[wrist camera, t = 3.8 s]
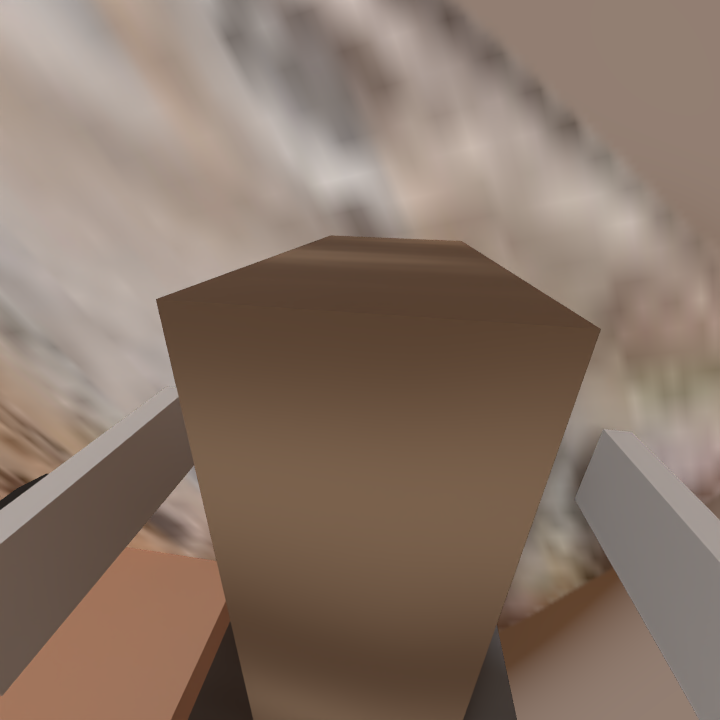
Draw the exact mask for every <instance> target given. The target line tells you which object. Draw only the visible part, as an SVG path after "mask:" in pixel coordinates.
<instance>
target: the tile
mask: <svg viewBox="0 0 720 720" xmlns="http://www.w3.org/2000/svg"><path fill="white" fill-rule="evenodd" d="M229 622H230V617H229V613H228V608H227V604H226V600H225V595H224V591H223V587H222V582H221V578H220V574H219V569H218V565H217V561H213V560H206V559H199V558H193V557H186V556H180V555H173V554H167V553H160V552H154V551H147V550H141V549H134V548H128V547H126V548H125V549H124V550H123V551H122V552H121V554H120V555H119V556H118V557H117V558H116V560H115V561H114V562H113V563H112V564H111V566H110V567H109V568H108V569H107V570H106V572H105V573H104V574H103V575H102V576H101V578H100V579H99V580H98V581H97V583H96V584H95V585H94V586H93V587H92V589H91V590H90V591H89V592H88V593H87V595H86V596H85V597H84V598H83V599H82V601H81V602H80V603H79V604H78V605H77V607H76V608H75V609H74V610H73V611H72V613H71V614H70V615H69V616H68V617H67V619H66V620H65V621H64V622H63V623H62V625H61V626H60V627H59V628H58V629H57V631H56V632H55V633H54V634H53V635H52V637H51V638H50V639H49V640H48V641H47V643H46V644H45V645H44V646H43V647H42V649H41V650H40V651H39V652H38V654H37V655H36V656H35V657H34V658H33V660H32V661H31V662H30V663H29V664H28V666H27V667H26V668H25V669H24V670H23V672H22V673H21V674H20V675H19V676H18V678H17V679H16V680H15V681H14V682H13V684H12V685H11V686H10V687H9V688H8V690H7V691H6V692H5V693H4V694H3V696H0V720H188V718H189V715H190V713H191V711H192V708H193V706H194V704H195V701H196V699H197V697H198V694H199V692H200V690H201V687H202V685H203V683H204V681H205V678H206V676H207V674H208V671H209V669H210V667H211V664H212V662H213V660H214V657H215V655H216V653H217V650H218V648H219V646H220V643H221V641H222V639H223V636H224V634H225V632H226V629H227V627H228V625H229Z"/></svg>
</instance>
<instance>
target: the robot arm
mask: <svg viewBox="0 0 720 720" xmlns="http://www.w3.org/2000/svg"><path fill="white" fill-rule="evenodd" d="M193 466H194V461H193V457H192V453H191V448H190V444H189V440H188V435H187V431H186V427H185V422H184V418H183V414H182V409H181V405H180V401H179V396H178V392H177V388H176V387H170V386H167V387H165V388H164V389H163V390H161V391H160V392H159V393H157V394H156V395H155V396H153V397H152V398H151V399H149V400H148V401H147V402H145V403H144V404H143V405H141V406H140V407H138V408H137V409H136V410H134V411H133V412H132V413H130V414H129V415H128V416H126V417H125V418H124V419H122V420H121V421H120V422H118V423H117V424H116V425H114V426H113V427H112V428H110V429H109V430H108V431H106V432H105V433H103V434H102V435H101V436H99V437H98V438H97V439H95V440H94V441H93V442H91V443H90V444H89V445H87V446H86V447H85V448H83V449H82V450H81V451H79V452H78V453H77V454H75V455H74V456H73V457H71V458H70V459H69V460H67V461H66V462H64V463H63V464H62V465H60V466H59V467H58V468H56V469H55V470H54V471H52V472H51V473H50V474H45V475H43V476H41V477H39V478H37V479H35V480H33V481H31V482H29V483H27V484H25V485H23V486H21V487H19V488H17V489H16V490H14V491H13V492H12V493H10V494H9V495H7V496H6V497H5V498H3V499H2V500H1V501H0V696H3V694H4V693H5V692H6V691H7V690H8V688H9V687H10V686H11V685H12V684H13V682H14V681H15V680H16V679H17V678H18V676H19V675H20V674H21V673H22V672H23V670H24V669H25V668H26V667H27V666H28V664H29V663H30V662H31V661H32V660H33V658H34V657H35V656H36V655H37V654H38V652H39V651H40V650H41V649H42V647H43V646H44V645H45V644H46V643H47V641H48V640H49V639H50V638H51V637H52V635H53V634H54V633H55V632H56V631H57V629H58V628H59V627H60V626H61V625H62V623H63V622H64V621H65V620H66V619H67V617H68V616H69V615H70V614H71V613H72V611H73V610H74V609H75V608H76V607H77V605H78V604H79V603H80V602H81V601H82V599H83V598H84V597H85V596H86V595H87V593H88V592H89V591H90V590H91V589H92V587H93V586H94V585H95V584H96V583H97V581H98V580H99V579H100V578H101V576H102V575H103V574H104V573H105V572H106V570H107V569H108V568H109V567H110V566H111V564H112V563H113V562H114V561H115V560H116V558H117V557H118V556H119V555H120V554H121V552H122V551H123V550H124V549H125V548H126V546H127V545H128V544H129V543H130V542H131V540H132V539H133V538H134V537H135V536H136V534H137V533H138V532H139V531H140V530H141V528H142V527H143V526H144V525H145V524H146V522H147V521H148V520H149V519H150V518H151V516H152V515H153V514H154V513H155V512H156V510H157V509H158V508H159V507H160V505H161V504H162V503H163V502H164V501H165V499H166V498H167V497H168V496H169V495H170V493H171V492H172V491H173V490H174V489H175V487H176V486H177V485H178V484H179V483H180V481H181V480H182V479H183V478H184V477H185V475H186V474H187V473H188V472H189V471H190V469H191V468H192V467H193ZM575 501H576V503H577V504H578V506H579V508H580V510H581V511H582V513H583V515H584V517H585V519H586V520H587V522H588V524H589V526H590V527H591V529H592V531H593V533H594V534H595V536H596V538H597V540H598V542H599V543H600V545H601V547H602V549H603V550H604V552H605V554H606V556H607V557H608V559H609V561H610V563H611V565H612V566H613V568H614V570H615V571H616V573H617V575H618V577H619V579H620V580H621V582H622V584H623V586H624V587H625V589H626V591H627V593H628V595H629V596H630V598H631V600H632V602H633V603H634V605H635V607H636V609H637V610H638V612H639V614H640V616H641V617H642V619H643V621H644V623H645V625H646V626H647V628H648V630H649V632H650V633H651V635H652V637H653V639H654V641H655V642H656V644H657V646H658V648H659V649H660V651H661V653H662V654H663V656H664V658H665V660H666V662H667V664H668V665H669V667H670V669H671V671H672V672H673V674H674V676H675V678H676V679H677V681H678V683H679V685H680V687H681V688H682V690H683V692H684V694H685V695H686V697H687V699H688V700H689V702H690V704H691V706H692V708H693V709H694V711H695V713H696V715H697V717H698V718H699V720H720V520H719V519H718V518H717V517H716V516H715V515H714V514H713V513H712V512H711V511H710V510H709V509H708V508H707V507H706V506H705V505H704V504H703V503H702V502H701V501H700V500H699V499H698V498H697V497H696V496H695V495H694V494H693V493H692V492H691V491H690V490H689V489H688V488H687V487H686V486H685V485H684V484H683V483H682V482H681V481H680V480H679V479H678V478H677V477H676V476H675V475H674V474H673V473H672V472H671V471H670V470H669V469H668V467H667V466H666V465H665V464H664V463H663V462H662V461H661V460H660V459H659V458H658V457H657V456H656V455H655V454H654V453H653V452H652V451H651V450H650V449H649V448H648V447H647V446H646V445H645V444H644V443H643V442H642V441H641V440H640V439H639V438H638V437H637V436H636V435H635V434H634V433H633V432H629V431H619V430H609V429H603V431H602V434H601V436H600V438H599V441H598V443H597V446H596V448H595V450H594V453H593V455H592V458H591V460H590V463H589V465H588V467H587V470H586V472H585V475H584V477H583V480H582V482H581V484H580V487H579V489H578V492H577V494H576V496H575Z"/></svg>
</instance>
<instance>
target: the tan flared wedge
mask: <svg viewBox="0 0 720 720" xmlns="http://www.w3.org/2000/svg"><path fill="white" fill-rule="evenodd" d="M156 301H157V306H158V310H159V314H160V319H161V323H162V327H163V332H164V336H165V340H166V345H167V349H168V353H169V357H170V362H171V366H172V370H173V375H174V379H175V383H176V388H177V392H178V396H179V401H180V405H181V409H182V414H183V418H184V422H185V427H186V431H187V435H188V440H189V444H190V448H191V453H192V457H193V461H194V466H195V470H196V474H197V479H198V483H199V487H200V492H201V496H202V500H203V505H204V509H205V513H206V517H207V522H208V526H209V530H210V535H211V539H212V543H213V548H214V552H215V556H216V561H217V565H218V569H219V574H220V578H221V582H222V587H223V591H224V595H225V600H226V604H227V608H228V613H229V617H230V622H229V625H228V627H227V629H226V632H225V634H224V636H223V639H222V641H221V643H220V646H219V648H218V650H217V653H216V655H215V657H214V660H213V662H212V664H211V667H210V669H209V671H208V674H207V676H206V678H205V681H204V683H203V685H202V687H201V690H200V692H199V694H198V697H197V699H196V701H195V704H194V706H193V708H192V711H191V713H190V715H189V718H188V720H517V718H516V713H515V708H514V704H513V699H512V694H511V690H510V685H509V680H508V675H507V671H506V666H505V661H504V657H503V652H502V648H501V642H500V638H499V633H498V628H497V622H498V619H499V616H500V614H501V611H502V608H503V605H504V602H505V599H506V597H507V594H508V591H509V588H510V585H511V582H512V580H513V577H514V574H515V571H516V568H517V565H518V563H519V560H520V557H521V554H522V551H523V548H524V546H525V543H526V540H527V537H528V534H529V531H530V529H531V526H532V523H533V520H534V517H535V514H536V512H537V509H538V506H539V503H540V500H541V497H542V495H543V492H544V489H545V486H546V483H547V480H548V478H549V475H550V472H551V469H552V466H553V463H554V461H555V458H556V455H557V452H558V449H559V446H560V444H561V441H562V438H563V435H564V432H565V429H566V427H567V424H568V421H569V418H570V415H571V412H572V410H573V407H574V404H575V401H576V398H577V395H578V392H579V390H580V387H581V384H582V381H583V378H584V375H585V373H586V370H587V367H588V364H589V361H590V358H591V356H592V353H593V350H594V347H595V344H596V341H597V339H598V336H599V333H600V330H601V329H600V328H598V327H597V326H595V325H593V324H592V323H590V322H589V321H587V320H585V319H584V318H582V317H581V316H579V315H578V314H576V313H574V312H573V311H571V310H570V309H568V308H567V307H565V306H563V305H562V304H560V303H559V302H557V301H555V300H554V299H552V298H551V297H549V296H548V295H546V294H544V293H543V292H541V291H540V290H538V289H536V288H535V287H533V286H532V285H530V284H529V283H527V282H525V281H524V280H522V279H521V278H519V277H518V276H516V275H514V274H513V273H511V272H510V271H508V270H506V269H505V268H503V267H502V266H500V265H499V264H497V263H495V262H494V261H492V260H491V259H489V258H487V257H486V256H484V255H483V254H481V253H480V252H478V251H476V250H475V249H473V248H472V247H470V246H468V245H467V244H465V243H464V242H462V241H445V240H422V239H399V238H375V237H352V236H328V237H325V238H323V239H320V240H317V241H314V242H312V243H309V244H306V245H303V246H301V247H298V248H295V249H292V250H290V251H287V252H284V253H281V254H279V255H276V256H273V257H271V258H268V259H265V260H262V261H260V262H257V263H254V264H251V265H249V266H246V267H243V268H240V269H238V270H235V271H232V272H229V273H227V274H224V275H221V276H218V277H216V278H213V279H210V280H208V281H205V282H202V283H199V284H197V285H194V286H191V287H188V288H186V289H183V290H180V291H177V292H175V293H172V294H169V295H166V296H164V297H161V298H158V299H156Z"/></svg>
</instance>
